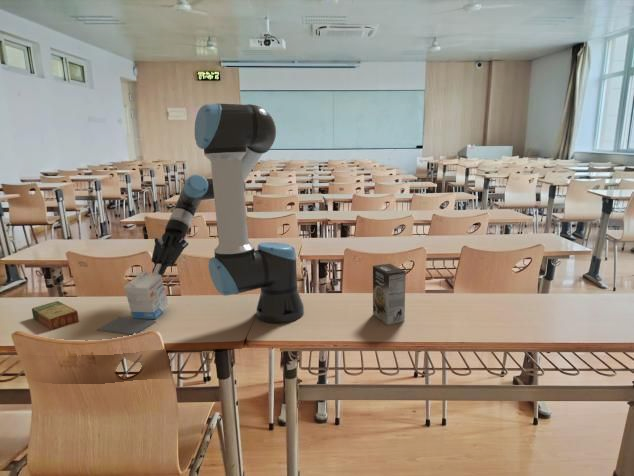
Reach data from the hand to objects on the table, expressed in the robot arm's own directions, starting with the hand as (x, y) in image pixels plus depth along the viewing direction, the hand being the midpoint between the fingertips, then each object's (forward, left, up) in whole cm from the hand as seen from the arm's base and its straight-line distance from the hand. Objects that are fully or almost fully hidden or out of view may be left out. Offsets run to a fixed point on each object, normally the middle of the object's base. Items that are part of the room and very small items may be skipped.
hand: (153, 282), depth 142 cm
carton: (+27, +15, -10) cm, 33 cm away
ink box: (-1, +3, -9) cm, 10 cm away
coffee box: (-77, -12, -10) cm, 78 cm away
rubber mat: (0, +14, -10) cm, 17 cm away
